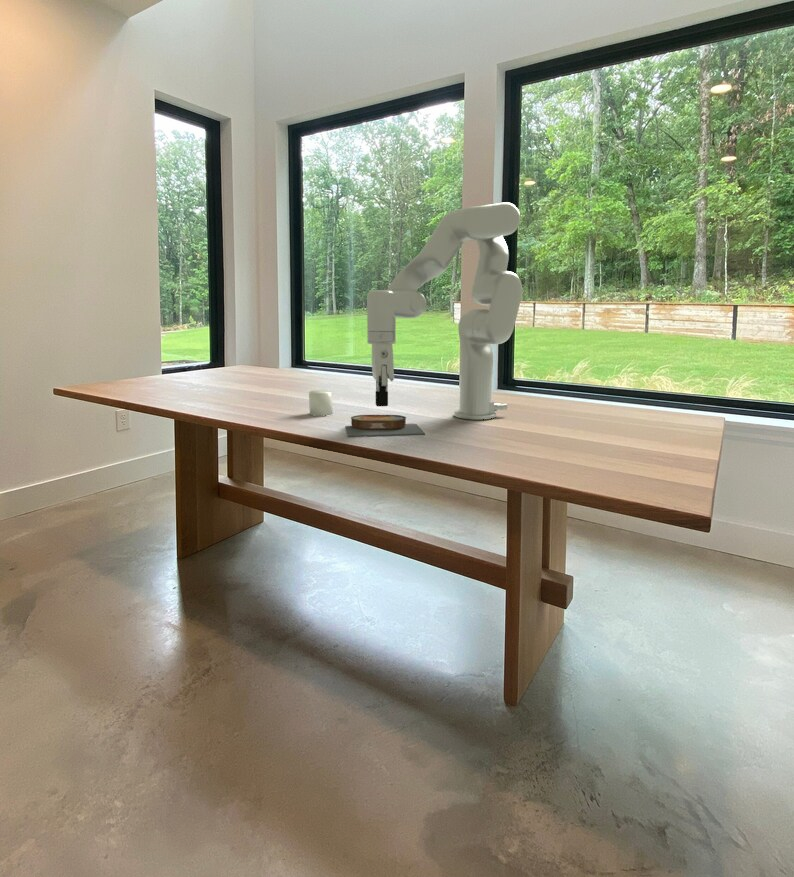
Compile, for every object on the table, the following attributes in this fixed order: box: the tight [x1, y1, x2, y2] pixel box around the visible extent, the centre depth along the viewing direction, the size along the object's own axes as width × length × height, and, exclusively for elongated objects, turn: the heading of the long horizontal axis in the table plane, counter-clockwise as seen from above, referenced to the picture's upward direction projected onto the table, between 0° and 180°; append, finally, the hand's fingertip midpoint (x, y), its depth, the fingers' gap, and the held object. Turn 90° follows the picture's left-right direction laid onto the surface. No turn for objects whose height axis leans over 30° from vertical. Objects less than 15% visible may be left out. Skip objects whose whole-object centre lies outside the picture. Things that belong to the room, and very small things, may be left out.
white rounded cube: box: [308, 389, 334, 417], centre depth 181 cm, size 7×7×7 cm
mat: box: [344, 423, 426, 438], centre depth 158 cm, size 20×12×1 cm, turn 99°
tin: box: [350, 414, 407, 429], centre depth 161 cm, size 15×3×8 cm
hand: (381, 405), depth 161 cm, fingers closed
